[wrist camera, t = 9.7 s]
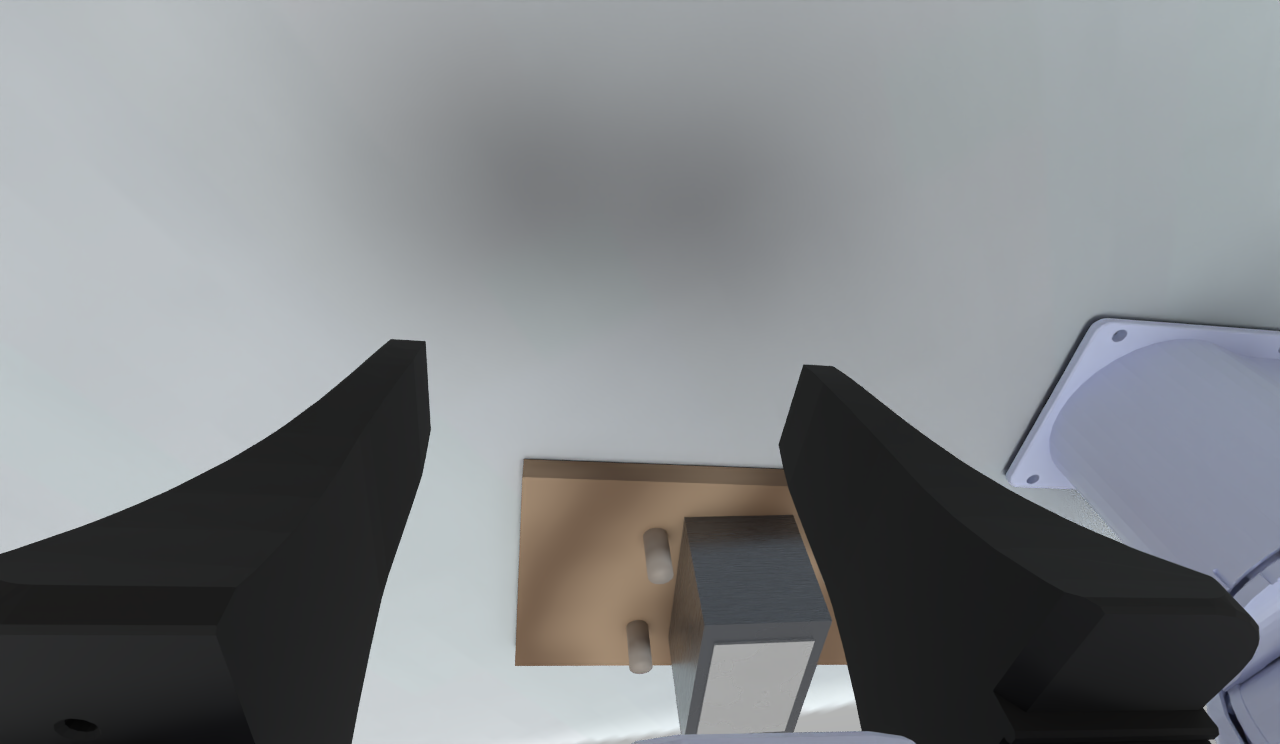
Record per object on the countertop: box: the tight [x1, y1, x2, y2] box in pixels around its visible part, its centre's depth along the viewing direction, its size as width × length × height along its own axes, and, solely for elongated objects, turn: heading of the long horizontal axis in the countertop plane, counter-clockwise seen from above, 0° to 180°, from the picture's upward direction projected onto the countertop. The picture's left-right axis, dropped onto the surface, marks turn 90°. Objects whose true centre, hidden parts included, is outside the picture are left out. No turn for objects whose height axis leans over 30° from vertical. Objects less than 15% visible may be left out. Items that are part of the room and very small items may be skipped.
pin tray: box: [515, 459, 847, 674], centre depth 29 cm, size 18×12×3 cm, turn 83°
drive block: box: [668, 515, 832, 735], centre depth 27 cm, size 4×8×5 cm, turn 177°
